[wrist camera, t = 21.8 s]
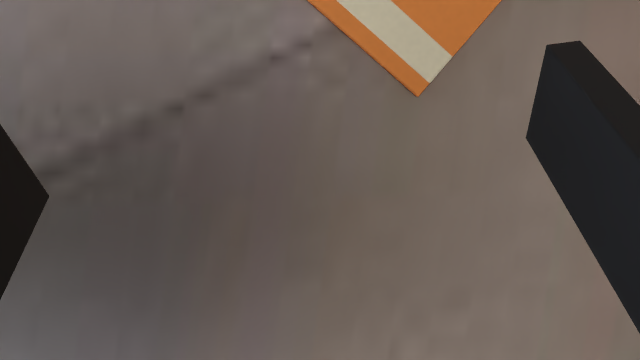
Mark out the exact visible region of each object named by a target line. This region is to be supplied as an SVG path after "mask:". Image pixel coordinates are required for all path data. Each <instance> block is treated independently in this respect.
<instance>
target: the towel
mask: <svg viewBox="0 0 640 360" xmlns="http://www.w3.org/2000/svg"><path fill="white" fill-rule="evenodd" d="M307 1H308V2H310V3H311V4H312V5H313V6H314V7H315V8H316V9H318V10H319V11H320V12H321V13H322V14H323V15H324V16H325V17H327V18H328V19H329V20H330V21H331V22H332V23H333V24H335V25H336V26H337V27H338V28H339V29H340V30H341V31H343V32H344V33H345V34H346V35H347V36H348V37H349V38H350V39H352V40H353V41H354V42H355V43H356V44H357V45H358V46H360V47H361V48H362V49H363V50H364V51H365V52H366V53H367V54H369V55H370V56H371V57H372V58H373V59H374V60H375V61H377V62H378V63H379V64H380V65H381V66H382V67H383V68H385V69H386V70H387V71H388V72H389V73H390V74H391V75H392V76H394V77H395V78H396V79H397V80H398V81H399V82H400V83H402V84H403V85H404V86H405V87H406V88H407V89H408V90H409V91H411V92H412V93H413V94H414V95H415V96H417V97H418V96H419V95H420V94H421V93H422V92H423V91H424V90H425V88H426V87H427V86H428V85H429V84H430V83H431V82H432V80H433V79H434V78H435V77H436V76H437V75H438V73H439V72H440V71H441V70H442V69H443V68H444V66H445V65H446V64H447V63H448V62H449V61H450V60H451V58H452V57H453V56H454V55H455V54H456V52H457V51H458V50H459V49H460V48H461V47H462V46H463V44H464V43H465V42H466V41H467V40H468V39H469V37H470V36H471V35H472V34H473V33H474V32H475V30H476V29H477V28H478V27H479V26H480V25H481V24H482V22H483V21H484V20H485V19H486V18H487V17H488V15H489V14H490V13H491V12H492V11H493V10H494V9H495V7H496V6H497V5H498V4H499V3H500V2H501V0H307Z"/></svg>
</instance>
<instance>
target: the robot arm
mask: <svg viewBox="0 0 640 360" xmlns="http://www.w3.org/2000/svg"><path fill="white" fill-rule="evenodd" d="M526 139H527V141H528V142H529V144H530V146H531V147H532V149H533V151H534V153H535V154H536V156H537V158H538V160H539V161H540V163H541V165H542V166H543V168H544V170H545V172H546V173H547V175H548V177H549V178H550V180H551V182H552V184H553V185H554V187H555V189H556V190H557V192H558V194H559V196H560V197H561V199H562V201H563V203H564V204H565V206H566V208H567V209H568V211H569V213H570V215H571V216H572V218H573V220H574V221H575V223H576V225H577V227H578V228H579V230H580V232H581V233H582V235H583V237H584V239H585V240H586V242H587V244H588V246H589V247H590V249H591V251H592V252H593V254H594V256H595V258H596V259H597V261H598V263H599V264H600V266H601V268H602V270H603V271H604V273H605V275H606V276H607V278H608V280H609V282H610V283H611V285H612V287H613V289H614V290H615V292H616V294H617V295H618V297H619V299H620V301H621V302H622V304H623V306H624V307H625V309H626V311H627V313H628V314H629V316H630V318H631V319H632V321H633V323H634V325H635V326H636V328H637V330H638V332H639V333H640V106H639V105H638V103H637V102H636V101H635V100H634V99H633V98H632V97H631V96H630V95H629V94H628V93H627V91H626V90H625V89H624V88H623V87H622V86H621V85H620V84H619V83H618V82H617V81H616V79H615V78H614V77H613V76H612V75H611V74H610V73H609V72H608V71H607V70H606V69H605V67H604V66H603V65H602V64H601V63H600V62H599V61H598V60H597V59H596V58H595V57H594V55H593V54H592V53H591V52H590V51H589V50H588V49H587V48H586V47H585V46H584V45H583V43H582V42H581V41H574V42H566V43H558V44H550V45H547V46H546V50H545V54H544V59H543V63H542V68H541V72H540V77H539V81H538V86H537V90H536V95H535V99H534V104H533V108H532V113H531V117H530V122H529V126H528V131H527V135H526ZM48 198H49V195H48V193H47V192H46V190H45V189H44V188H43V186H42V185H41V183H40V182H39V180H38V179H37V177H36V176H35V174H34V173H33V171H32V170H31V168H30V167H29V166H28V164H27V163H26V161H25V160H24V158H23V157H22V155H21V154H20V152H19V151H18V149H17V148H16V146H15V145H14V144H13V142H12V141H11V139H10V138H9V136H8V135H7V133H6V132H5V130H4V129H3V127H2V126H1V124H0V299H1V297H2V295H3V293H4V291H5V289H6V287H7V285H8V282H9V280H10V278H11V276H12V274H13V272H14V270H15V268H16V265H17V263H18V261H19V259H20V257H21V255H22V253H23V251H24V249H25V246H26V244H27V242H28V240H29V238H30V236H31V234H32V232H33V229H34V227H35V225H36V223H37V221H38V219H39V217H40V215H41V213H42V210H43V208H44V206H45V204H46V202H47V200H48Z"/></svg>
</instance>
